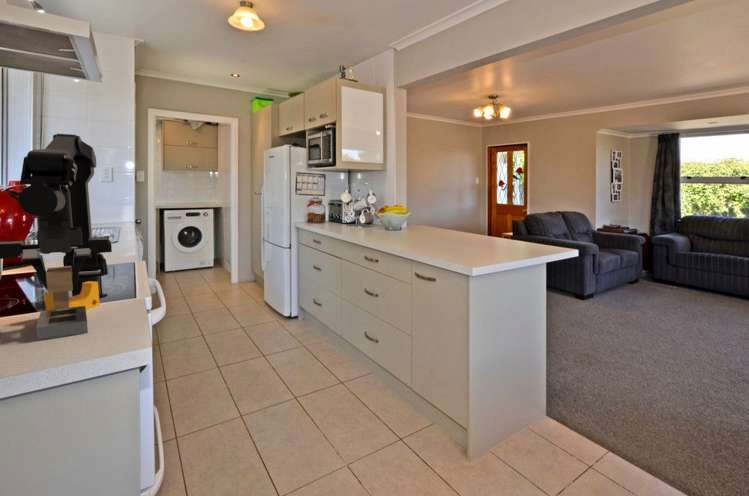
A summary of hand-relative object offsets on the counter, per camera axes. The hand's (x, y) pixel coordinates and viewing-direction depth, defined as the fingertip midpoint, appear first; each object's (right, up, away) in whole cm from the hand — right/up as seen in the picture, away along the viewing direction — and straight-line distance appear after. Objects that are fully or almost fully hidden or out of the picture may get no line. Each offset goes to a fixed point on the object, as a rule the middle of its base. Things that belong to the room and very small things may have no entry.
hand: (60, 288), depth 85 cm
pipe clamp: (-7, -7, +12) cm, 16 cm away
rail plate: (0, -8, +1) cm, 9 cm away
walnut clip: (0, -4, 0) cm, 4 cm away
